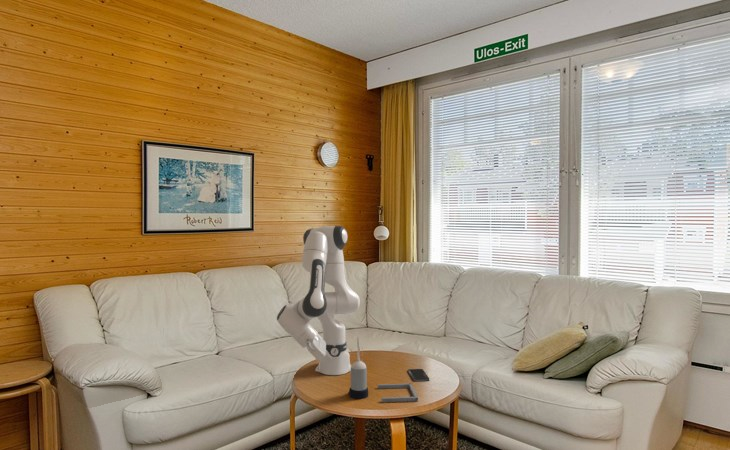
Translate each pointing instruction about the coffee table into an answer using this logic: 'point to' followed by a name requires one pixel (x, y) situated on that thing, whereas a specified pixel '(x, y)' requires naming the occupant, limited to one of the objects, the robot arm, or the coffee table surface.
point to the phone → (418, 375)
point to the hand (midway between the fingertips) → (331, 359)
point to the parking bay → (398, 399)
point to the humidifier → (358, 378)
